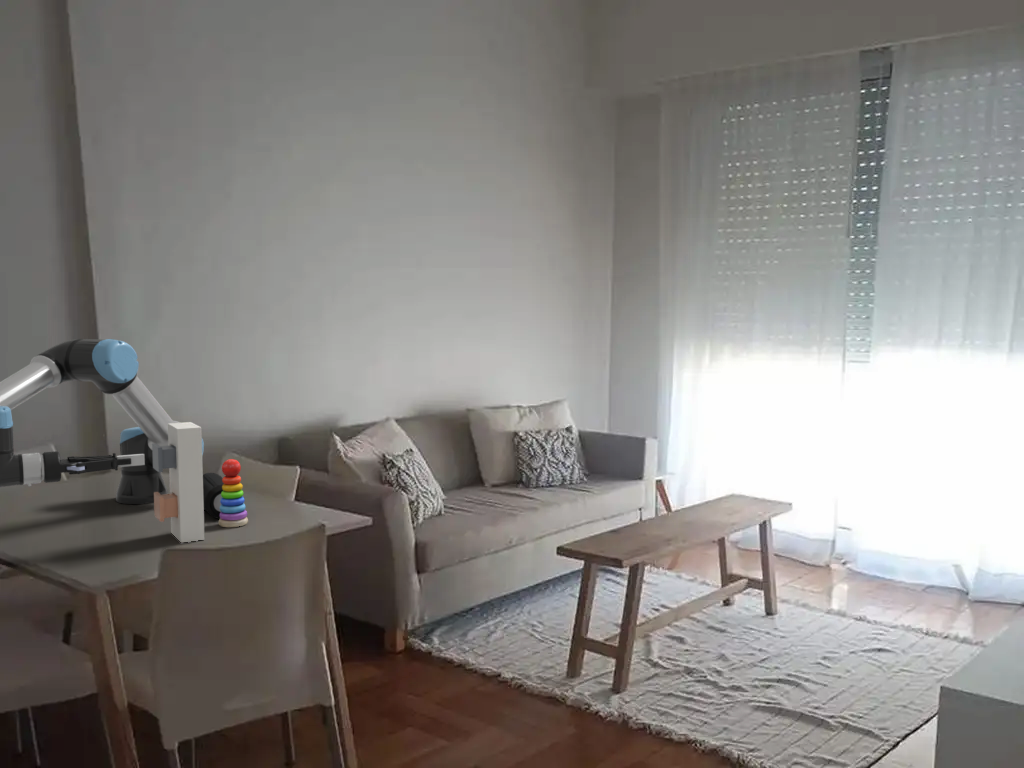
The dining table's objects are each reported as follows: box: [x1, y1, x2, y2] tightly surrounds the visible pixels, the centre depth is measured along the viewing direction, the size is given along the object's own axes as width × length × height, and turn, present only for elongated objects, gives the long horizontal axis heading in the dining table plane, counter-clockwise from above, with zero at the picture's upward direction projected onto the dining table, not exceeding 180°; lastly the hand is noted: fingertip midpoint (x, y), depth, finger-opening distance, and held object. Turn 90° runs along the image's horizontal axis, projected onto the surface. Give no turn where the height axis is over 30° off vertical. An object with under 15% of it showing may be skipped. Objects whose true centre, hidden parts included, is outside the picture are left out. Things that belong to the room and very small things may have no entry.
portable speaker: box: [203, 472, 224, 519], centre depth 276 cm, size 26×10×10 cm, turn 28°
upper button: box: [152, 443, 177, 473], centre depth 243 cm, size 8×7×6 cm
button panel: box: [168, 421, 205, 543], centre depth 245 cm, size 12×6×30 cm, turn 32°
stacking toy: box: [218, 458, 249, 528], centre depth 259 cm, size 8×8×19 cm
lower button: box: [153, 492, 178, 523], centre depth 244 cm, size 8×7×6 cm
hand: (143, 459), depth 239 cm, fingers closed
